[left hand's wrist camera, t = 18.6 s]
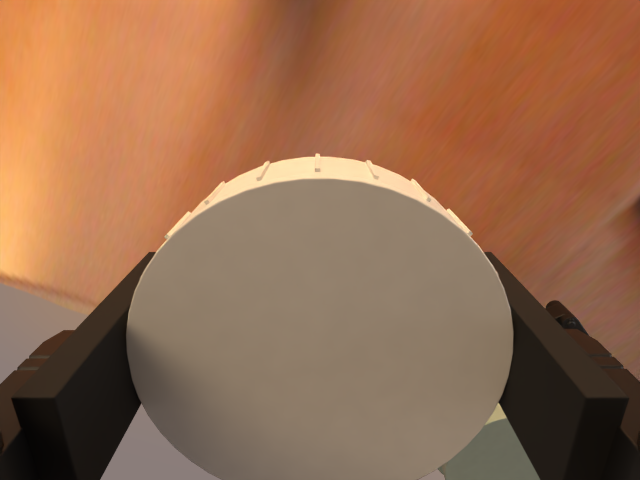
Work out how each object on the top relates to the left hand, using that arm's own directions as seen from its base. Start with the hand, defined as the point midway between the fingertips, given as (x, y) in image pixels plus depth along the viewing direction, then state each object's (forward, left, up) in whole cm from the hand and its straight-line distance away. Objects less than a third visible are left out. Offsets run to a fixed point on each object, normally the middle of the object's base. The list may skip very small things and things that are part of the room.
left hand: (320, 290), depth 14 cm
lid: (0, 0, +3) cm, 3 cm away
